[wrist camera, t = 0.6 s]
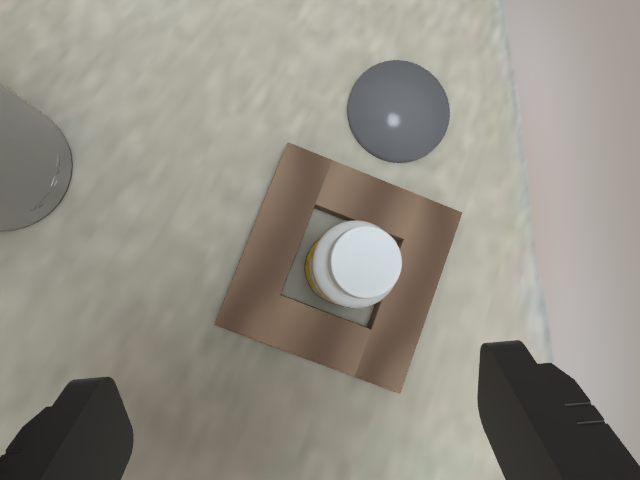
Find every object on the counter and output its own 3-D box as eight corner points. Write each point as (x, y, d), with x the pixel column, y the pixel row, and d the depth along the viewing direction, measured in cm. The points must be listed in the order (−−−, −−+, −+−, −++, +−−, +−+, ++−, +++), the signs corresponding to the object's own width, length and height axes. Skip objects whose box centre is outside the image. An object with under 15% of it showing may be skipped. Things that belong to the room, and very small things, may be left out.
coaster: (332, 139, 35) (333, 136, 34) (368, 48, 36) (369, 44, 35) (427, 178, 35) (430, 176, 35) (460, 87, 36) (463, 84, 36)
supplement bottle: (315, 311, 33) (332, 324, 24) (295, 242, 34) (304, 228, 24) (383, 290, 34) (426, 295, 25) (363, 223, 34) (397, 201, 25)
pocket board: (216, 322, 33) (214, 324, 31) (287, 148, 34) (287, 142, 33) (394, 388, 33) (400, 393, 32) (454, 215, 35) (462, 212, 34)
